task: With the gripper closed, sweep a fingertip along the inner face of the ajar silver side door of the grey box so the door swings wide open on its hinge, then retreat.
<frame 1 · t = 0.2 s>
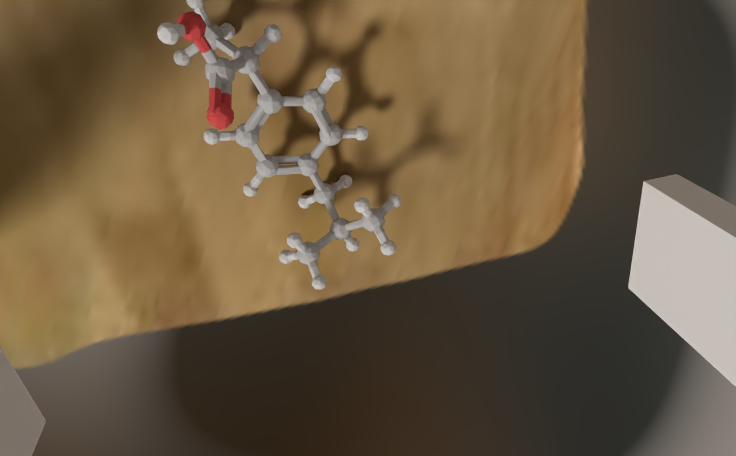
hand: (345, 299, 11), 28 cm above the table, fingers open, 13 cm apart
molecular model: (290, 119, 37), on the table
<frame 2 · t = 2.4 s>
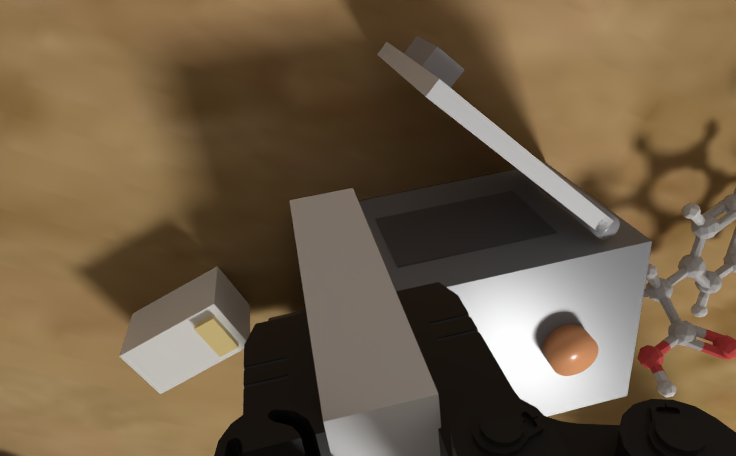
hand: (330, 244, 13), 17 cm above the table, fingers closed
side door: (498, 130, 26), point 5 cm above the table, hinge at 45.0°
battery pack: (192, 308, 33), on the table
grey box: (428, 257, 35), on the table
molecular model: (686, 219, 38), on the table
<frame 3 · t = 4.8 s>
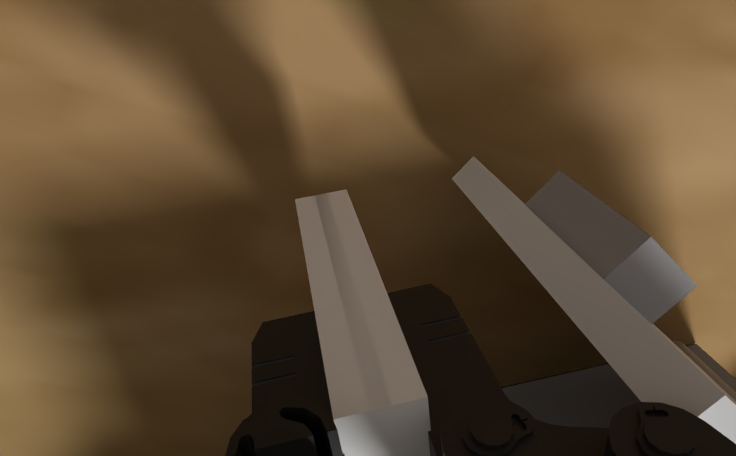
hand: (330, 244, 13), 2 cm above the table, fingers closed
side door: (696, 364, 13), point 5 cm above the table, hinge at 49.3°, touching gripper, hand
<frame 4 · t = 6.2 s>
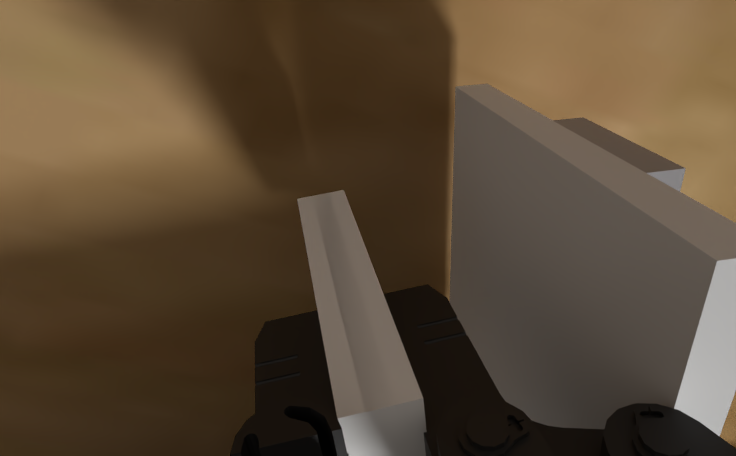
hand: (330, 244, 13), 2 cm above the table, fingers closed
side door: (542, 384, 12), point 5 cm above the table, hinge at 93.9°, touching gripper, hand
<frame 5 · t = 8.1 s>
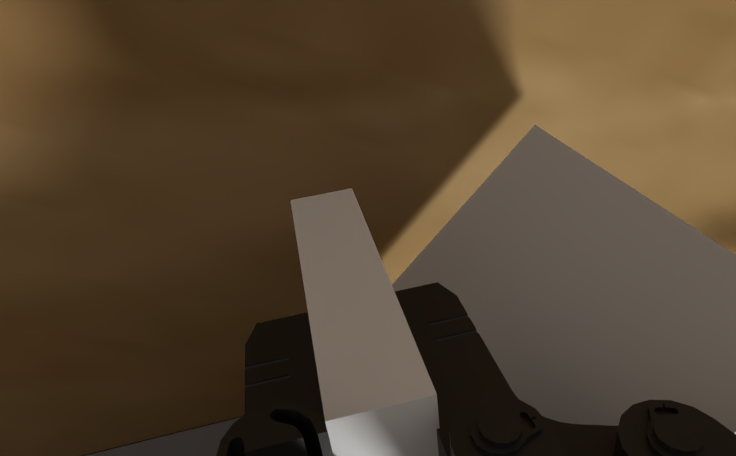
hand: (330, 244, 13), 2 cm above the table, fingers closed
side door: (464, 404, 12), point 5 cm above the table, hinge at 136.8°, touching hand
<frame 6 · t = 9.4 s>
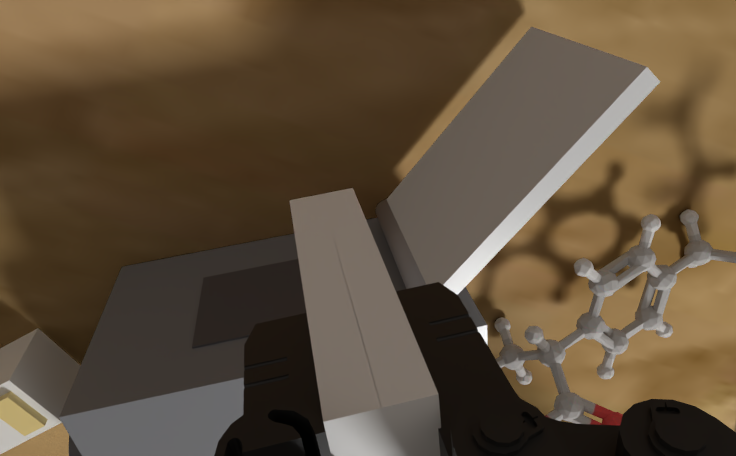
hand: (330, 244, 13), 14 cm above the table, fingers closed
side door: (490, 168, 23), point 5 cm above the table, hinge at 135.9°
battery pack: (17, 371, 30), on the table
grey box: (292, 310, 31), on the table
molecular model: (596, 267, 34), on the table
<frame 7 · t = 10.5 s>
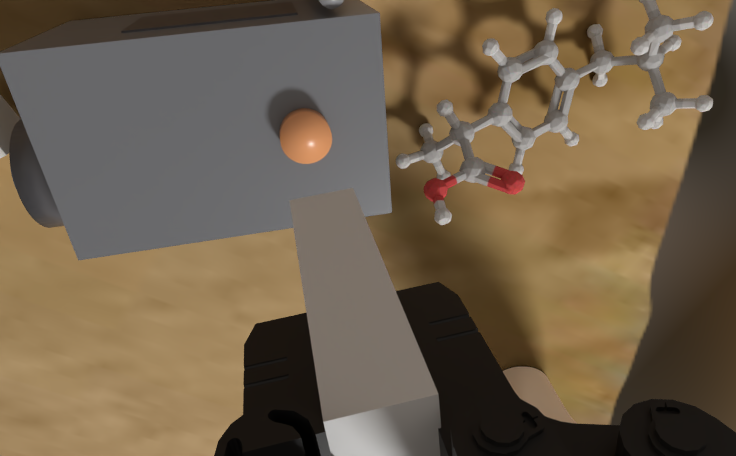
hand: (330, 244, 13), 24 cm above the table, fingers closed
water bottle: (514, 398, 53), on the table
grey box: (230, 91, 34), on the table
molecular model: (513, 81, 37), on the table
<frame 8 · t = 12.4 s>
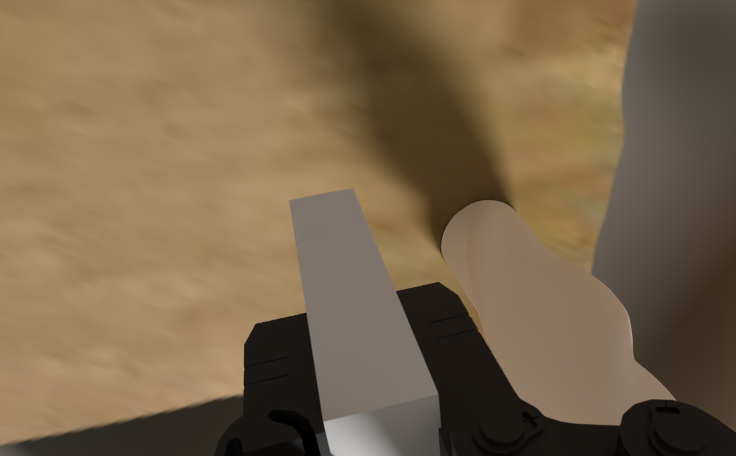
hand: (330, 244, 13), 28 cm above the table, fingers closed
water bottle: (484, 242, 49), on the table
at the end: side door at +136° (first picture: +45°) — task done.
